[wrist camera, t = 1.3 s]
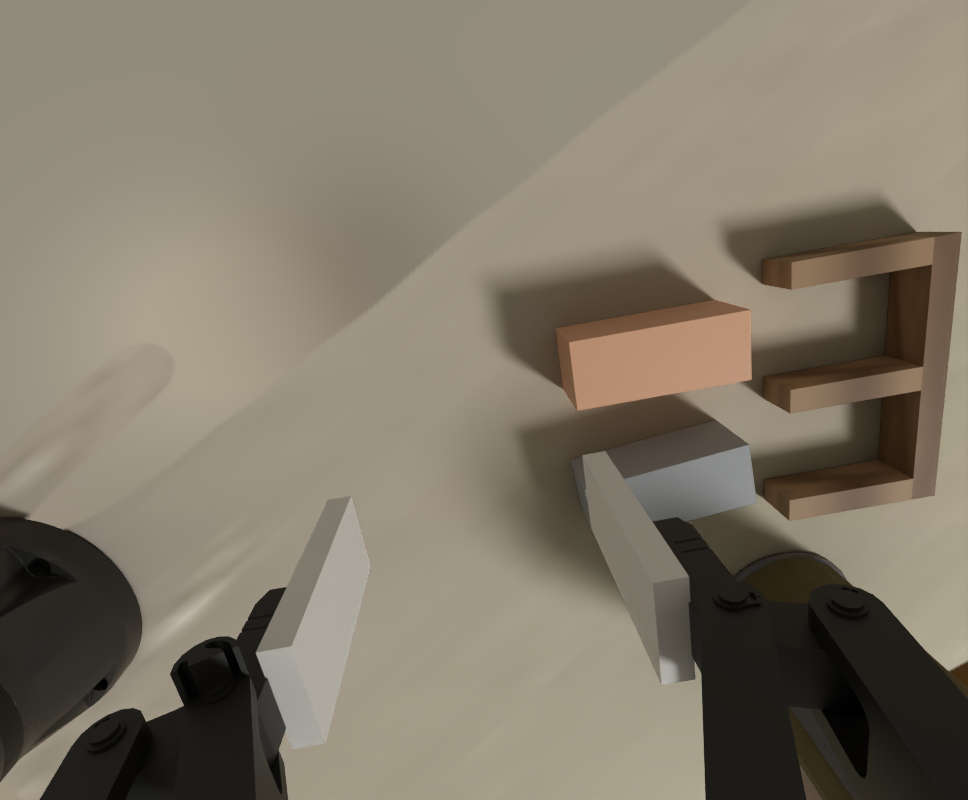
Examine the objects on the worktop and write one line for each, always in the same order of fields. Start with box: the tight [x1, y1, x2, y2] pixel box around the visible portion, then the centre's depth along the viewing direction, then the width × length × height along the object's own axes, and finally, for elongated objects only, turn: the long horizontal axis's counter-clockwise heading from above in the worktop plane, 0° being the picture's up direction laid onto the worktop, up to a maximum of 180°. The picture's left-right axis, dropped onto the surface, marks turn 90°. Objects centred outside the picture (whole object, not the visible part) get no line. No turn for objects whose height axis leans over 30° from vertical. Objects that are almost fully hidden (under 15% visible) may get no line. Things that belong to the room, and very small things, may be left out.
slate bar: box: [570, 420, 757, 546], centre depth 34 cm, size 10×4×4 cm, turn 106°
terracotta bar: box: [555, 300, 752, 411], centre depth 32 cm, size 10×4×4 cm, turn 100°
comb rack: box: [762, 232, 962, 521], centre depth 34 cm, size 10×16×3 cm, turn 10°
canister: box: [734, 552, 968, 800], centre depth 31 cm, size 11×10×20 cm
